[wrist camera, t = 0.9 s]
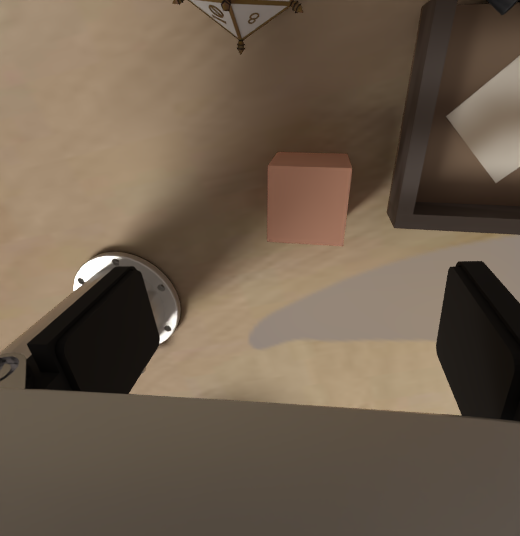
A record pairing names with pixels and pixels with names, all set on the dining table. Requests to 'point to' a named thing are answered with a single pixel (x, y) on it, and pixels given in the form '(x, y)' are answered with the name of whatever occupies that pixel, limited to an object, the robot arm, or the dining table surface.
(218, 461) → the robot arm
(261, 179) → the dining table surface
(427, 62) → the tray
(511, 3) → the can opener
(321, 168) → the cube
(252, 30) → the game die
